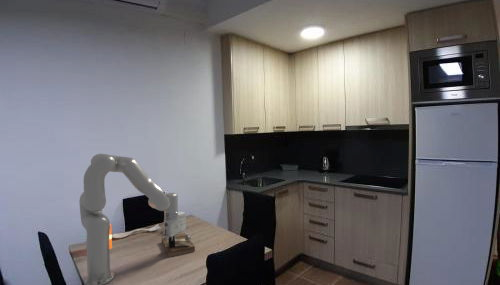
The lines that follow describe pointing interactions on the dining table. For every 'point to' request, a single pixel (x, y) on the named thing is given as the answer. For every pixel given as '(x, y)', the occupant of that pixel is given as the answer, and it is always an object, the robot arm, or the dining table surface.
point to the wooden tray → (178, 249)
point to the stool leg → (180, 242)
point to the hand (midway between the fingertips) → (171, 246)
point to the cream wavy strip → (122, 235)
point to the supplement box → (182, 220)
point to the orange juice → (110, 238)
